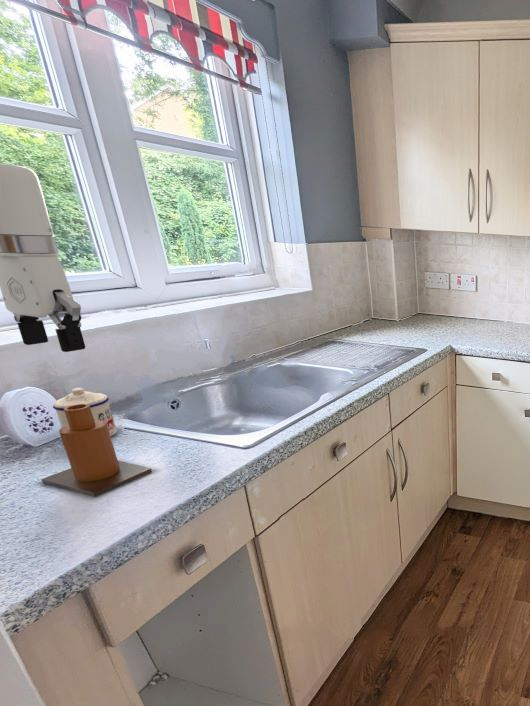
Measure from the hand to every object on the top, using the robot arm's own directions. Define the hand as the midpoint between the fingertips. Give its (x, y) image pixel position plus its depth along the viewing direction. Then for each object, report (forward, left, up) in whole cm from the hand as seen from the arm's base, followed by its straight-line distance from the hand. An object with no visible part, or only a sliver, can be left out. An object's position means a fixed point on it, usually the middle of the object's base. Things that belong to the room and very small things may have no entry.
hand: (55, 346), depth 81 cm
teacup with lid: (-20, +12, -26) cm, 35 cm away
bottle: (+2, -1, -25) cm, 25 cm away
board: (+2, -1, -26) cm, 26 cm away
